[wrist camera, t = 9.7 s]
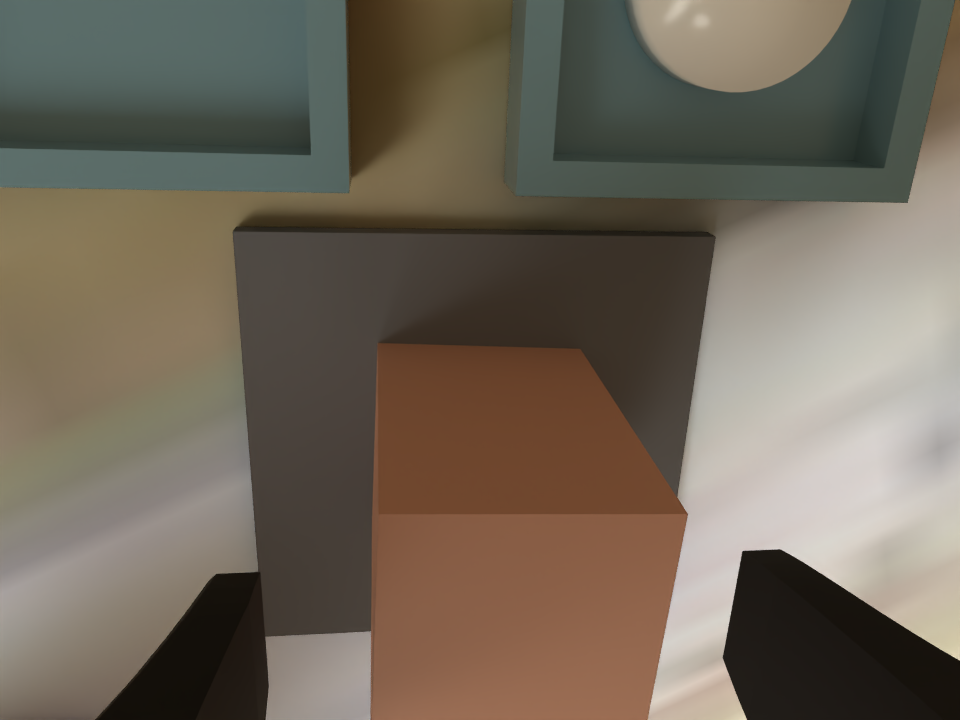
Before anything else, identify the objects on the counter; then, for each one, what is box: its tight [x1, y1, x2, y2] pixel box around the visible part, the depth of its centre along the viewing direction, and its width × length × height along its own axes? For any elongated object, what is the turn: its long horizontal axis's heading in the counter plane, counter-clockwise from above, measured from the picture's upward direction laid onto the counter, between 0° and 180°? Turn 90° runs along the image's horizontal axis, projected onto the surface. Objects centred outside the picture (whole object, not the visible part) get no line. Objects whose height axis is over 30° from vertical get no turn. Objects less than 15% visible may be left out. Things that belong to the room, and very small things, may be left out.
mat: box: [233, 227, 715, 637], centre depth 17 cm, size 9×9×1 cm
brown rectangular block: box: [371, 343, 688, 720], centre depth 14 cm, size 4×4×6 cm
